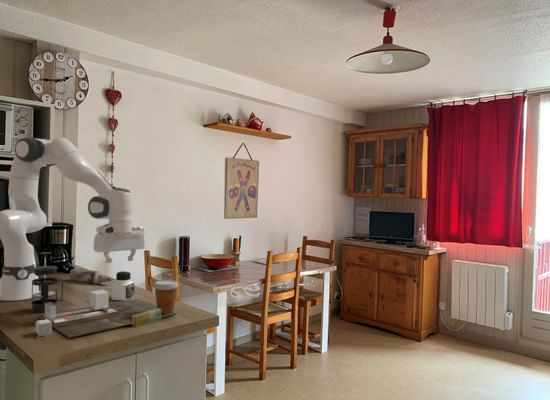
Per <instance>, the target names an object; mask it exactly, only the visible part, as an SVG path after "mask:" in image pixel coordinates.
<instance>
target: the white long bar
mask: <svg viewBox="0 0 550 400" xmlns="http://www.w3.org/2000/svg"><path fill="white" fill-rule="evenodd" d="M87 308H88V307H87ZM81 309H82V308H81ZM105 309H107V308H105ZM75 310H76V309H75ZM98 310H101V309H97V310H95V309H93V308H88V309H82V310H76V311H71V312H65V311H64V312H65V313H59V312H58V313H59V314H56V313H57V310H56V305H55V304H53V303H52V302H47V303H45V313H44V315H45V317H46V318H48V319H49V320H53V319H56V318H58V317H64V316H70V315H75V314H81V313H87V312H92V311H98Z"/></svg>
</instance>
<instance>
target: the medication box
mask: <svg viewBox="0 0 550 400" xmlns="http://www.w3.org/2000/svg"><path fill="white" fill-rule="evenodd" d="M162 319H163V314H162V309H160V308H157V307H156V308H153V309H150V310H146V311H143V312H139V313H135V314H132V315H131V326H133V327H141V326H143V325H147V324H150V323H153V322H156V321H160V320H162Z"/></svg>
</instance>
